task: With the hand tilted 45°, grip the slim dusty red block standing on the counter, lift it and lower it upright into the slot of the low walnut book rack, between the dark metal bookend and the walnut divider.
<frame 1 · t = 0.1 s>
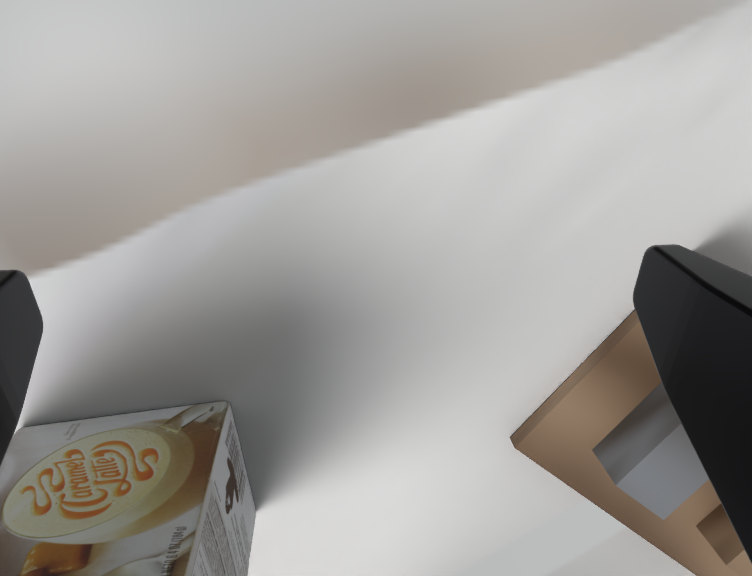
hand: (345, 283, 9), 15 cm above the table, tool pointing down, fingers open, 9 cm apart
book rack: (721, 435, 30), on the table
coffee box: (146, 468, 28), on the table
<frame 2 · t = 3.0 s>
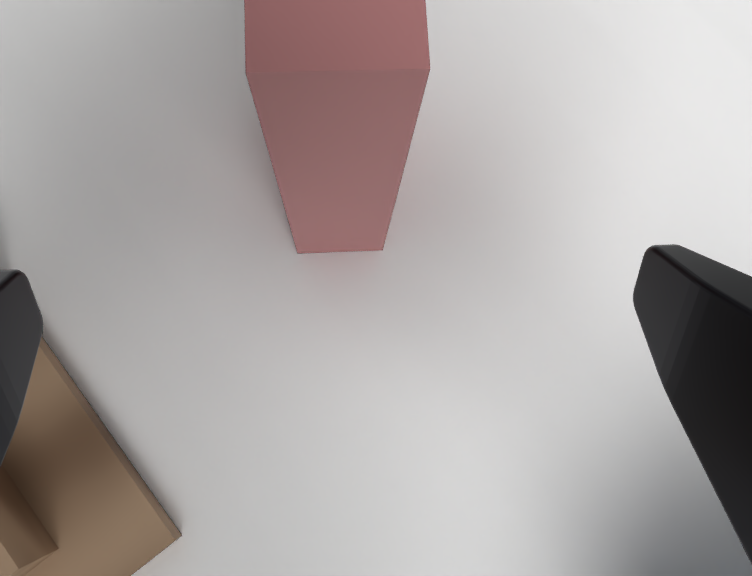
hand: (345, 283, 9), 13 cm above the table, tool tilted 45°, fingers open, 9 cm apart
dusty red block: (336, 171, 23), on the table
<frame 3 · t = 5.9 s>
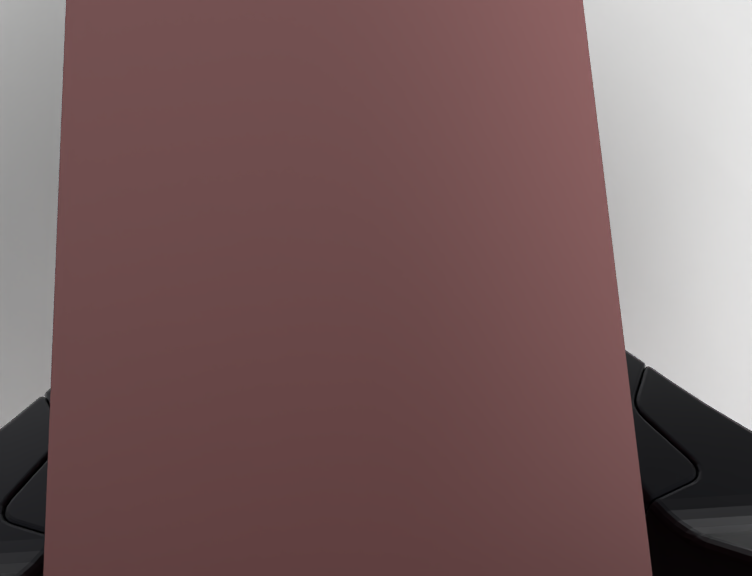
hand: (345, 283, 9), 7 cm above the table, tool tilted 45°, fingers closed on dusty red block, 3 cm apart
dusty red block: (346, 390, 16), on the table, touching gripper
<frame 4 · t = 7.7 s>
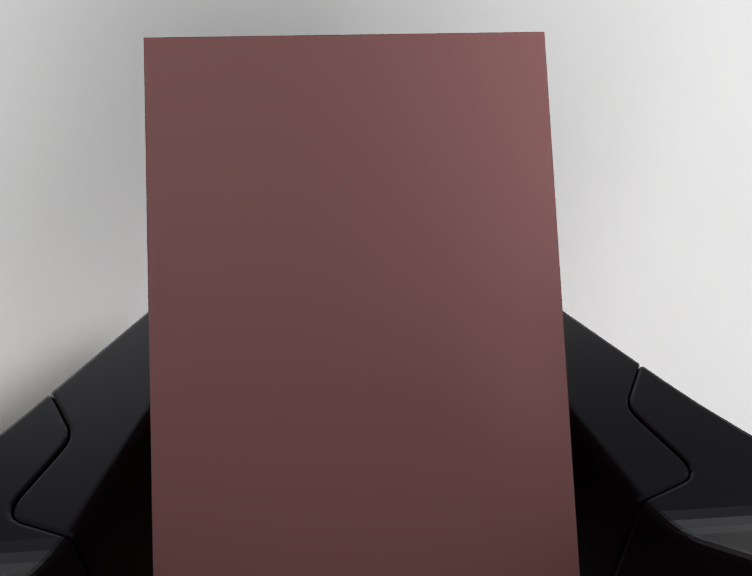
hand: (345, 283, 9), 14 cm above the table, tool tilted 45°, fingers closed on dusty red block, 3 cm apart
dusty red block: (345, 365, 17), point 6 cm above the table, tilted 5°, touching gripper
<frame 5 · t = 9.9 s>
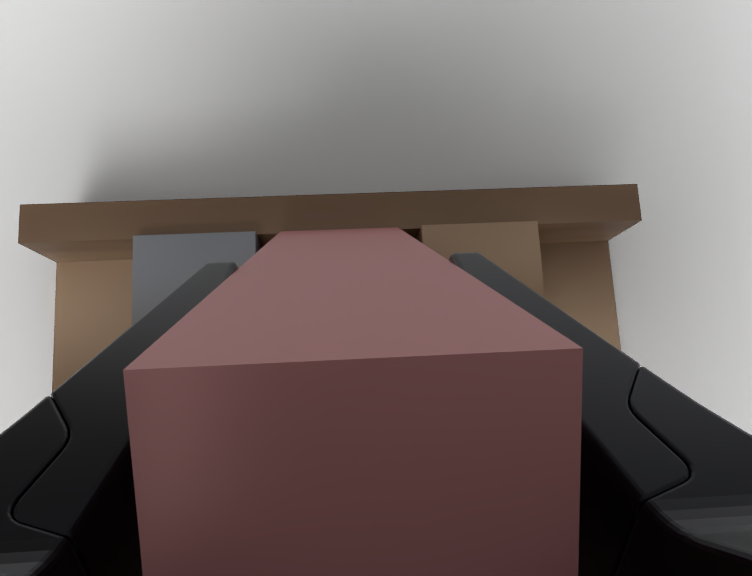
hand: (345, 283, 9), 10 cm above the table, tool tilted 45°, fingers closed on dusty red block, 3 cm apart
dusty red block: (343, 342, 17), point 2 cm above the table, tilted 19°, touching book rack, gripper
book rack: (345, 390, 19), on the table
when the fingers open (9 cm above the table, at t = 10.6 s): dusty red block stays where it is, resting on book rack.
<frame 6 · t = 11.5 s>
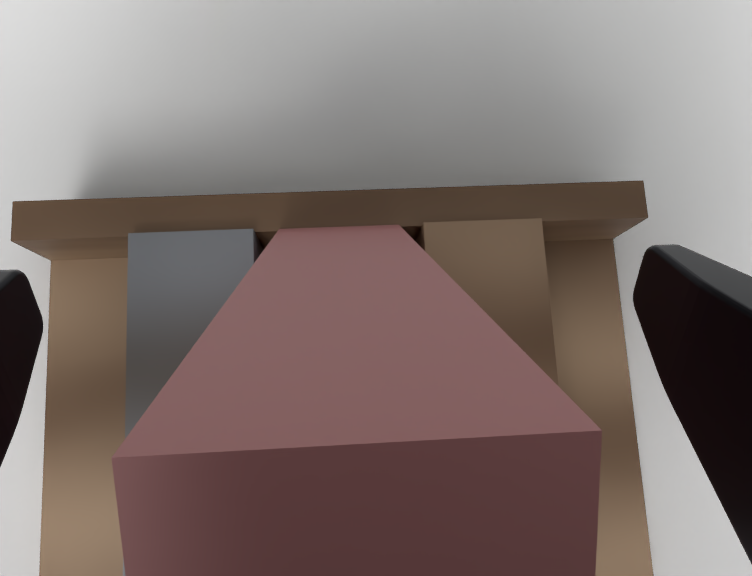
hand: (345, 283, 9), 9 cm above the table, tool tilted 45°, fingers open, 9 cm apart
dusty red block: (343, 341, 17), point 2 cm above the table, tilted 22°, touching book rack
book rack: (345, 391, 18), on the table
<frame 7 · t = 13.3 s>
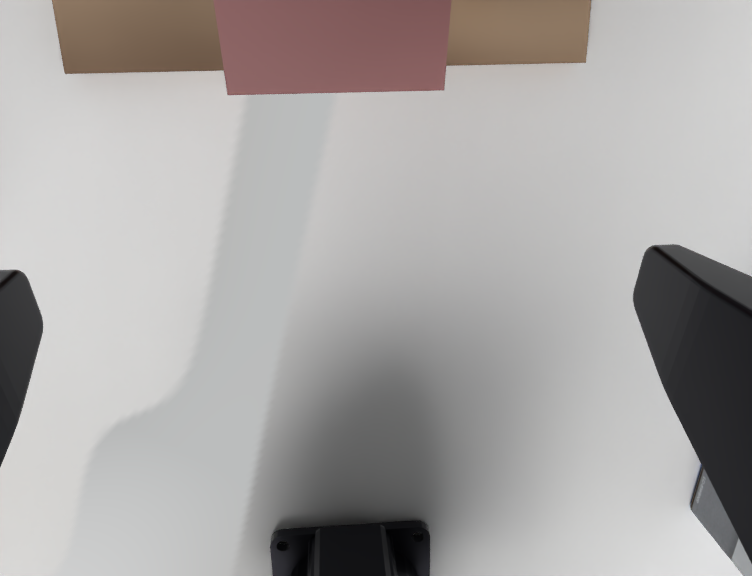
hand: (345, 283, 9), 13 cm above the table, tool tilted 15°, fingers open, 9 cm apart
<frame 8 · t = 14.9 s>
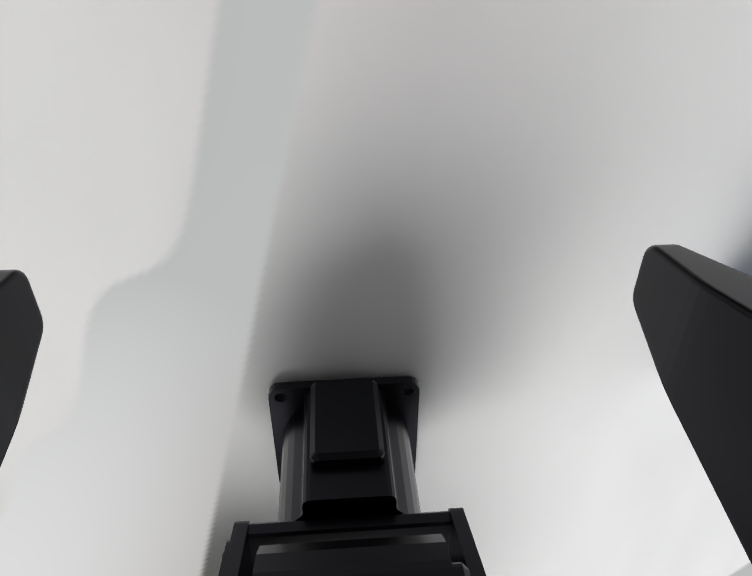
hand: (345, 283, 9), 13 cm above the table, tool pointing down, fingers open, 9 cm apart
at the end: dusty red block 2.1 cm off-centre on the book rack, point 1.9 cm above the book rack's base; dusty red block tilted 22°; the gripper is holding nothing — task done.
